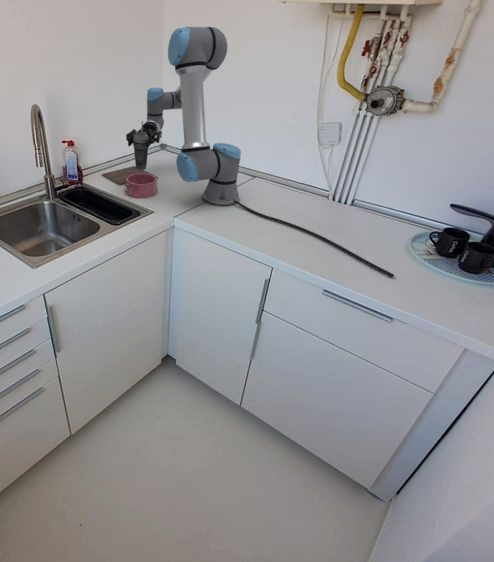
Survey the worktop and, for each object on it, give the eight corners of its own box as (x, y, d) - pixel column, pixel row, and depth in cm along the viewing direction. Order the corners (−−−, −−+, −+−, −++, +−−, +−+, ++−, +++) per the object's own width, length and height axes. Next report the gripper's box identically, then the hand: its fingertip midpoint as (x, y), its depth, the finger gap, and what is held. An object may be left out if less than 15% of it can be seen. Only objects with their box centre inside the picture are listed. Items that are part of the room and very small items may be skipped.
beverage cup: (143, 164, 169) (143, 117, 157) (152, 169, 164) (153, 121, 152) (129, 167, 166) (128, 119, 154) (138, 172, 161) (138, 123, 149)
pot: (165, 191, 171) (165, 179, 168) (135, 201, 163) (134, 188, 159) (147, 182, 180) (147, 170, 176) (117, 191, 172) (117, 178, 168)
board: (153, 176, 187) (153, 174, 186) (119, 185, 177) (119, 183, 177) (134, 167, 197) (134, 165, 196) (102, 175, 187) (102, 173, 187)
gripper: (171, 139, 173) (161, 154, 155) (129, 136, 176) (115, 150, 158) (172, 122, 168) (162, 135, 150) (129, 119, 172) (114, 132, 154)
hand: (138, 143), depth 154 cm, fingers closed on beverage cup, 7 cm apart
